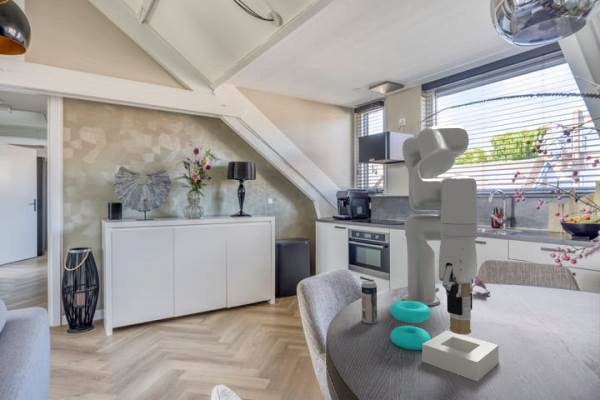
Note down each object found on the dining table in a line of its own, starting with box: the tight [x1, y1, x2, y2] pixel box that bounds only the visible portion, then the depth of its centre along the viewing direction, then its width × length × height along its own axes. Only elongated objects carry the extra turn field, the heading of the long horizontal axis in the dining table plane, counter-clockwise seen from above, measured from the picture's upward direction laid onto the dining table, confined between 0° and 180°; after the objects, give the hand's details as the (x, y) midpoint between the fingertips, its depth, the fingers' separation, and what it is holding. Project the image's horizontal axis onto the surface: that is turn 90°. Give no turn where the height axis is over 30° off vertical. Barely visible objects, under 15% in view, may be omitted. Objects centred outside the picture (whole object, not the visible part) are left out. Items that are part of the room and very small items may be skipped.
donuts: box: [389, 300, 432, 351], centre depth 89 cm, size 10×10×10 cm
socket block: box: [421, 330, 500, 382], centre depth 78 cm, size 12×12×4 cm
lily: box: [472, 273, 491, 297], centre depth 134 cm, size 12×12×10 cm
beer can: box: [360, 280, 378, 325], centre depth 104 cm, size 5×5×12 cm
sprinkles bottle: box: [449, 275, 472, 336], centre depth 78 cm, size 5×5×14 cm
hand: (459, 310), depth 78 cm, fingers closed on sprinkles bottle, 4 cm apart
